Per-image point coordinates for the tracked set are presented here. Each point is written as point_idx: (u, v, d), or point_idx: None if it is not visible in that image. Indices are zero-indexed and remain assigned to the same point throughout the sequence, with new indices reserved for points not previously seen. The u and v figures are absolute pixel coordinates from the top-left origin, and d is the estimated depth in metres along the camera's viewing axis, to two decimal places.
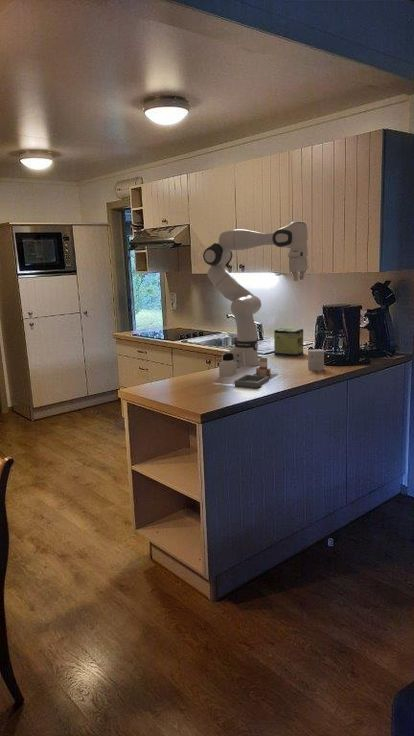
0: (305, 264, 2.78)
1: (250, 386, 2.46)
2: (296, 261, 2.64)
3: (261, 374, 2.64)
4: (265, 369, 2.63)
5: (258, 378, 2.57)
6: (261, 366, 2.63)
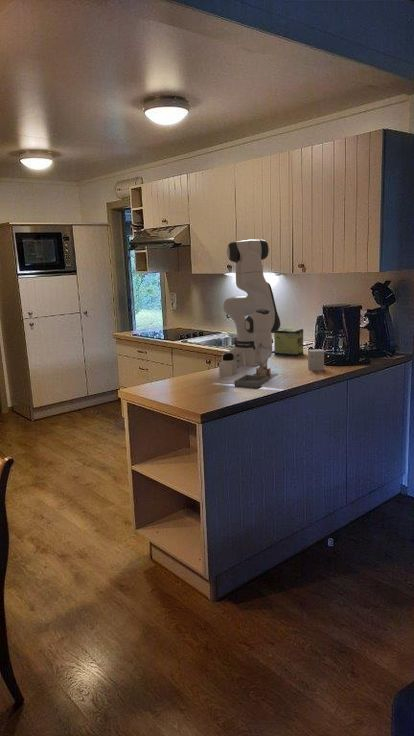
0: None
1: (250, 386, 2.46)
2: None
3: (261, 374, 2.64)
4: (265, 369, 2.63)
5: (258, 378, 2.57)
6: None
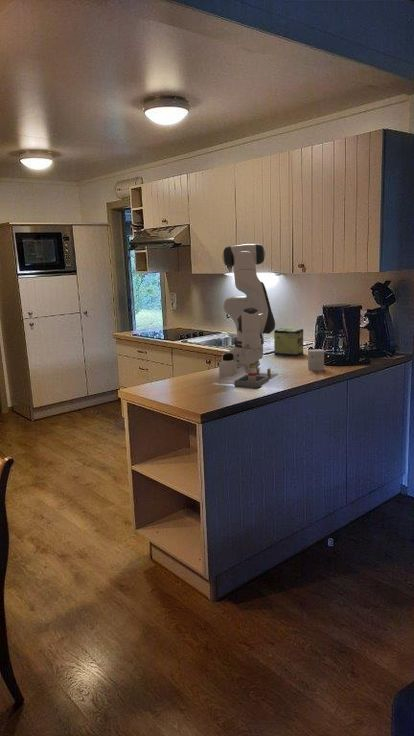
0: None
1: (250, 386, 2.46)
2: None
3: (249, 381, 2.51)
4: (253, 375, 2.50)
5: (258, 378, 2.57)
6: None
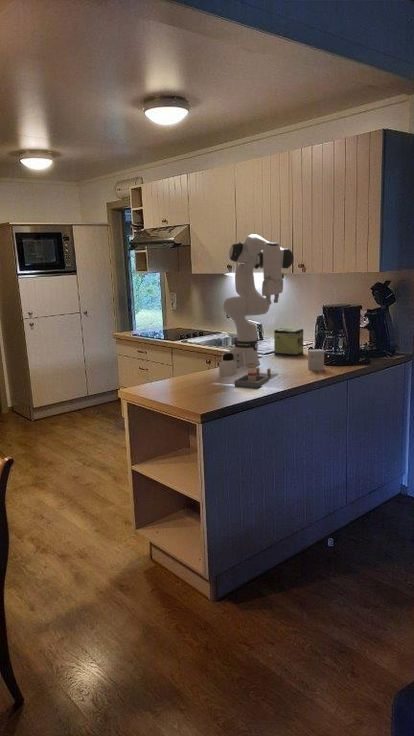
0: None
1: (250, 386, 2.46)
2: None
3: (249, 381, 2.51)
4: (253, 375, 2.50)
5: (258, 378, 2.57)
6: (249, 372, 2.50)
